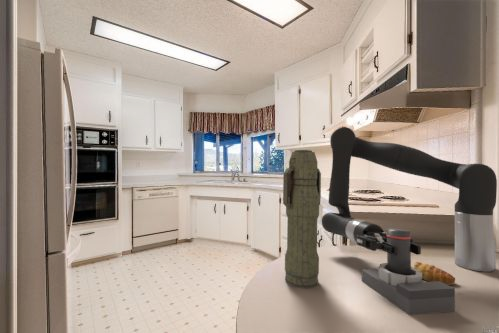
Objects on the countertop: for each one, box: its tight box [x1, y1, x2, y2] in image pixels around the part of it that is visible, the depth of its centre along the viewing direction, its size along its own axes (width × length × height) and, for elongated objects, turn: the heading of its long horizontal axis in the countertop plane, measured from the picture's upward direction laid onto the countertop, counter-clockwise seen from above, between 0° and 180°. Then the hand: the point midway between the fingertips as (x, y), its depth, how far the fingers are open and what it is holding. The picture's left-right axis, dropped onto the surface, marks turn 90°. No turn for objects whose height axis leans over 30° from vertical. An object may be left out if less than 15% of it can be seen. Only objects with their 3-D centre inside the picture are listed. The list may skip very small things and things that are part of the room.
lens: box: [386, 227, 412, 275], centre depth 61 cm, size 5×5×12 cm
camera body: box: [361, 262, 456, 315], centre depth 59 cm, size 11×16×6 cm
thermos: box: [282, 149, 322, 289], centre depth 66 cm, size 9×12×35 cm
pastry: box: [412, 261, 456, 286], centre depth 69 cm, size 9×7×4 cm
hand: (407, 250), depth 58 cm, fingers open, 5 cm apart
